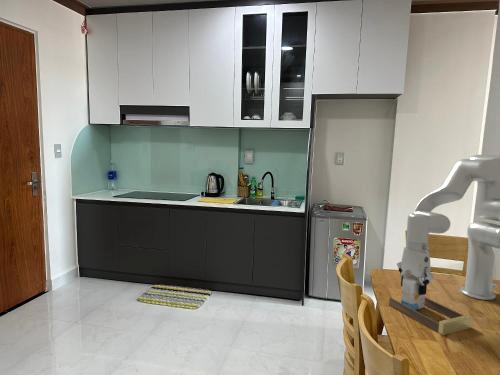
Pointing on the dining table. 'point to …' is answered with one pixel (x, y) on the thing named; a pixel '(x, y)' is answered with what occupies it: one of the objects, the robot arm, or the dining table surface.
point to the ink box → (411, 292)
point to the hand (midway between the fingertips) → (413, 289)
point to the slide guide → (443, 327)
